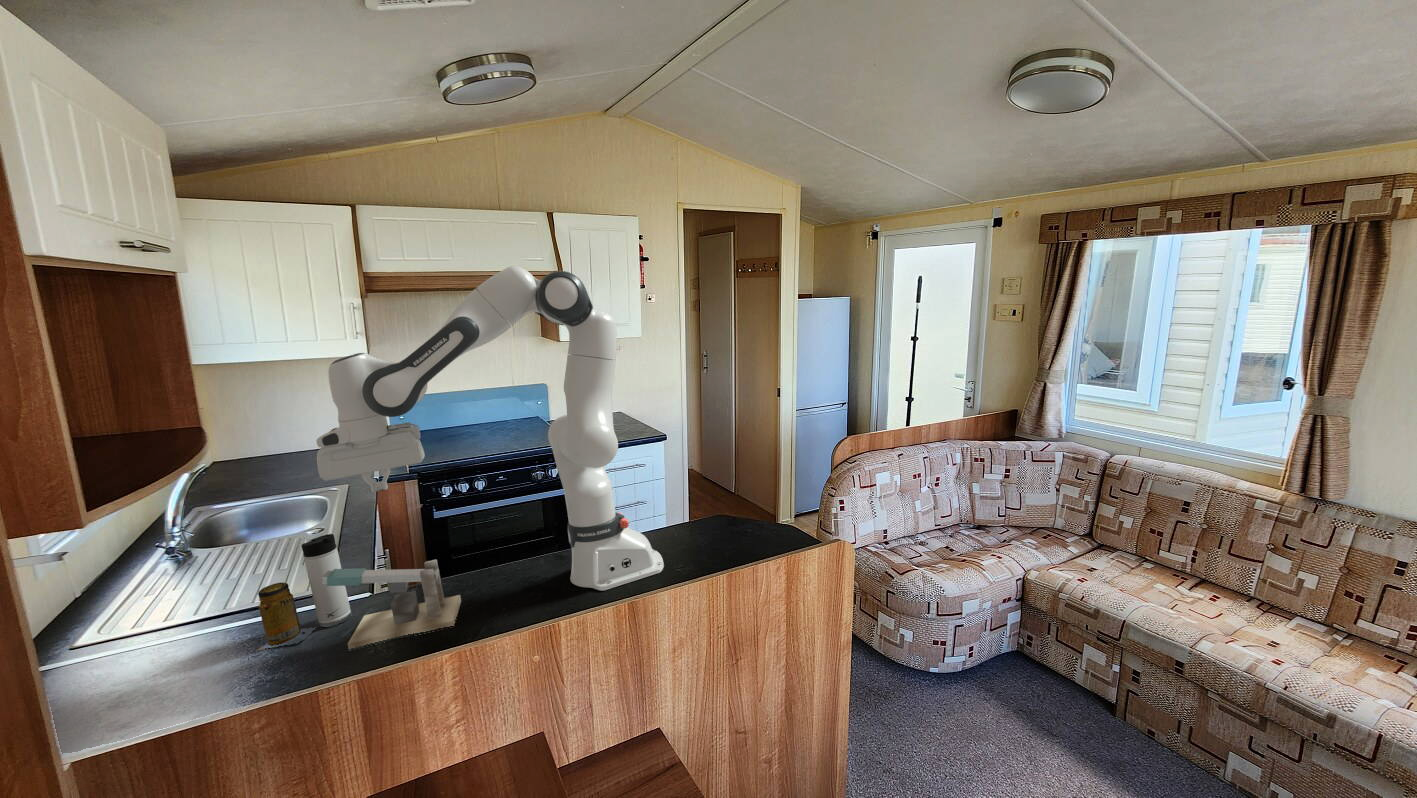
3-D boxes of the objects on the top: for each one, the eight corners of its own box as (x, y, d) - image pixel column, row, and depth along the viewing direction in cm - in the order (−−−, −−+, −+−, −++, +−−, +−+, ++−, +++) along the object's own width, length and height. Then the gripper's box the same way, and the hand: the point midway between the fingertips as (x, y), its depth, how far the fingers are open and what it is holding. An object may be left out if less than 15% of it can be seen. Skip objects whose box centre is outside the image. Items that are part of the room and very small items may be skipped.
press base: (461, 600, 136) (452, 551, 134) (454, 626, 124) (443, 573, 122) (365, 621, 131) (354, 570, 129) (349, 650, 119) (336, 595, 117)
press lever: (438, 584, 130) (439, 566, 130) (435, 593, 126) (436, 575, 126) (328, 587, 124) (328, 569, 124) (320, 596, 120) (321, 577, 119)
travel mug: (337, 628, 129) (318, 542, 126) (312, 627, 130) (292, 543, 127) (359, 613, 135) (341, 531, 132) (335, 612, 136) (317, 531, 133)
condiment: (279, 632, 130) (266, 582, 128) (318, 626, 131) (307, 576, 129) (257, 651, 123) (244, 598, 121) (299, 645, 123) (287, 592, 121)
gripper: (419, 418, 132) (433, 476, 134) (317, 435, 126) (333, 496, 129) (414, 423, 126) (428, 484, 128) (307, 441, 120) (324, 505, 123)
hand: (380, 490), depth 129 cm, fingers closed
